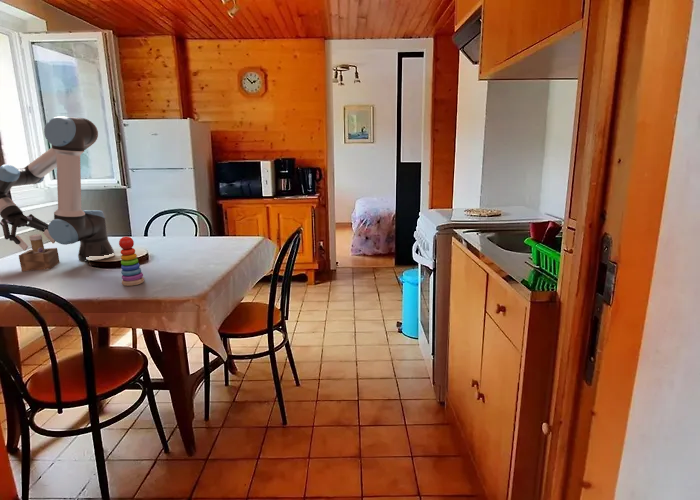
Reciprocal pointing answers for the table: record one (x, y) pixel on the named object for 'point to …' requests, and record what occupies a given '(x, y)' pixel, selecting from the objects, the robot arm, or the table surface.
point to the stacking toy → (130, 263)
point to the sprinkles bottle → (37, 243)
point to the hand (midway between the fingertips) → (41, 244)
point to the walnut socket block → (39, 260)
